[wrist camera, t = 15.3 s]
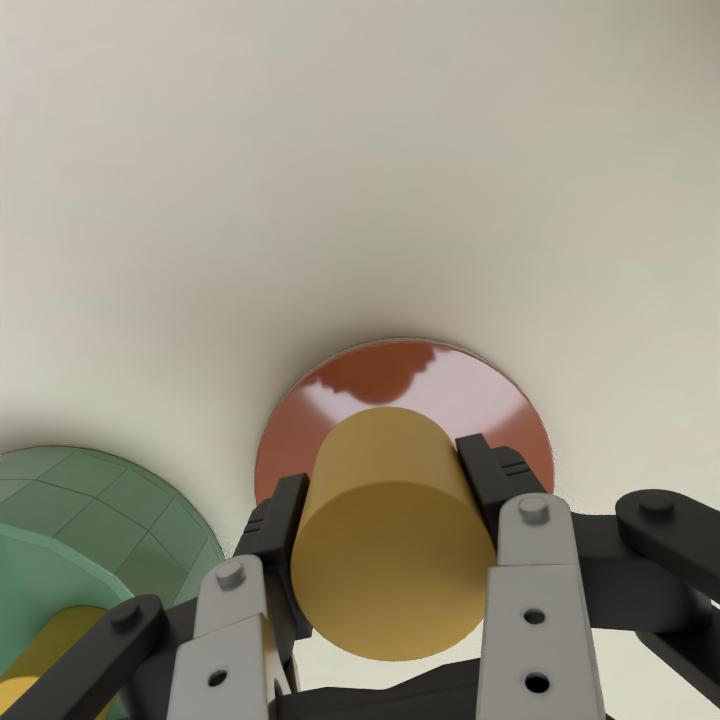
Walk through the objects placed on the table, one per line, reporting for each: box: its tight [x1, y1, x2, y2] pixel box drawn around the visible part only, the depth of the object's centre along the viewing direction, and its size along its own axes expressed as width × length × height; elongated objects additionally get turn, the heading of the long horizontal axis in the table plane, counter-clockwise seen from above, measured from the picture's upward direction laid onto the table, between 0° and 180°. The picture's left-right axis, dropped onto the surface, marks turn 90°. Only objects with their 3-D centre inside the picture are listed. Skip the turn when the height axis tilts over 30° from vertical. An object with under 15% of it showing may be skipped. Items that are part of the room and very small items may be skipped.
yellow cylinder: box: [290, 406, 497, 662], centre depth 12 cm, size 4×4×4 cm
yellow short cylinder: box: [0, 606, 118, 720], centre depth 22 cm, size 5×5×4 cm
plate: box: [254, 337, 554, 506], centre depth 22 cm, size 13×13×1 cm
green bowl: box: [0, 446, 225, 720], centre depth 21 cm, size 15×15×6 cm
